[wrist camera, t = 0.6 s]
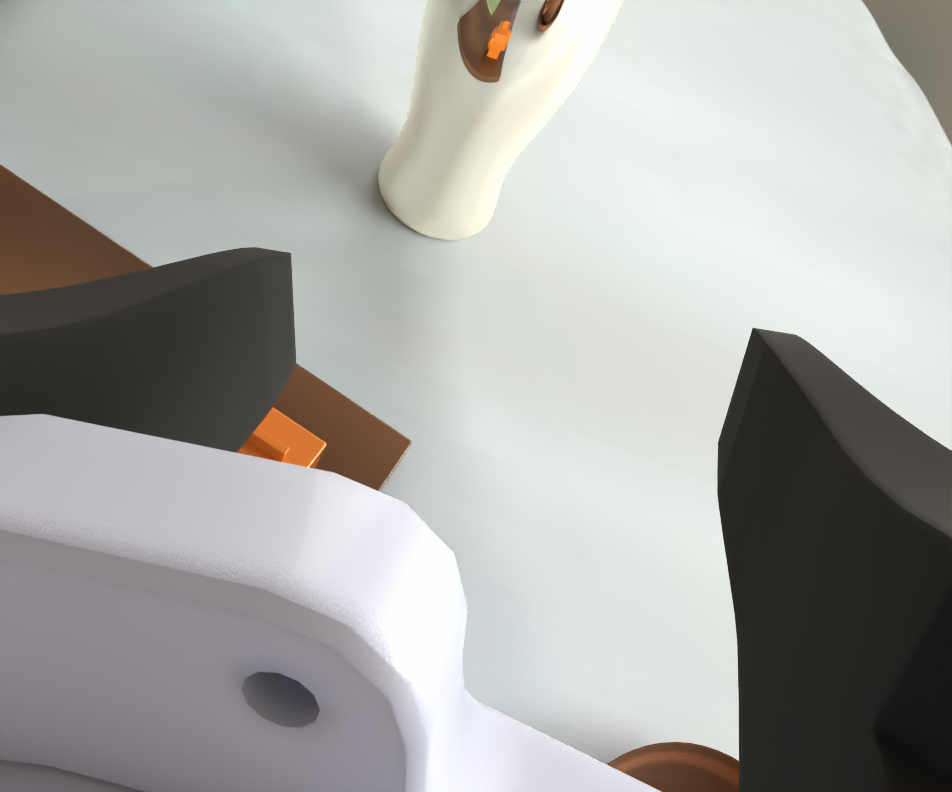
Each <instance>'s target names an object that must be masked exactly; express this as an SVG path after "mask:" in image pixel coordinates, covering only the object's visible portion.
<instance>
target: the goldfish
mask: <svg viewBox="0 0 952 792" xmlns="http://www.w3.org/2000/svg"><path fill="white" fill-rule="evenodd" d="M325 447H326V443H325V442H324V441H323V440H321V439H320V438H318V437H317V436H315V435H314V434H312V433H311V432H309V431H308V430H306V429H305V428H303V427H302V426H300V425H299V424H297V423H296V422H294V421H293V420H291V419H290V418H288V417H287V416H285V415H284V414H282V413H281V412H279V411H278V410H276V409H275V408H273V407H272V409H271V410H270V412H269V413H268V414H267V416H266V417H265V418H264V420H263V421H262V422H261V423H260V425H259V426H258V427H257V428H256V430H255V431H254V432H253V433H252V435H251V436H250V437H249V438H248V440H247V441H246V442H245V443H244V445H243V446H242V447H241V448H240V450H239V451H238V452H237V453H239V454H244V455H249V456H254V457H259V458H264V459H269V460H274V461H279V462H284V463H289V464H294V465H299V466H304V467H309V468H314V469H316V466H317V464H318V462H319V460H320V458H321V455H322V453H323V451H324V449H325Z"/></svg>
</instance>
